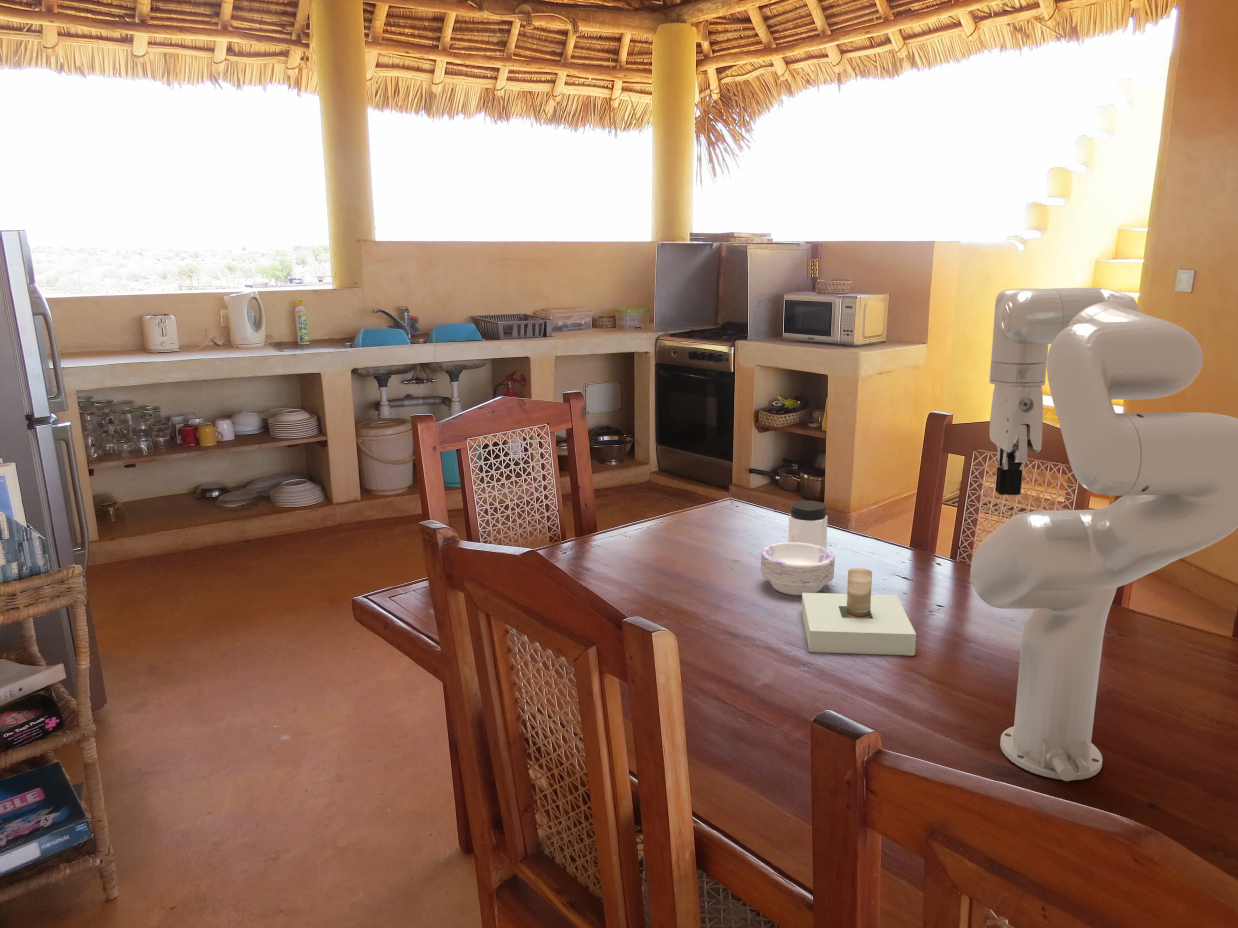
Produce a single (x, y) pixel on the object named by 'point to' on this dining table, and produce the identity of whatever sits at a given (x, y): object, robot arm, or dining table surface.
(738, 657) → the dining table surface
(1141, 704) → the dining table surface
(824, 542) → the jar
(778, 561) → the paper bowls
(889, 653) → the board
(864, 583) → the peg
